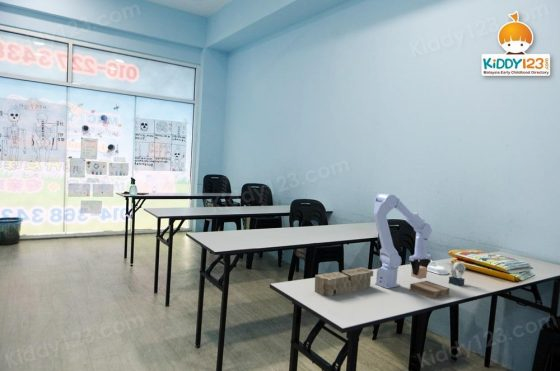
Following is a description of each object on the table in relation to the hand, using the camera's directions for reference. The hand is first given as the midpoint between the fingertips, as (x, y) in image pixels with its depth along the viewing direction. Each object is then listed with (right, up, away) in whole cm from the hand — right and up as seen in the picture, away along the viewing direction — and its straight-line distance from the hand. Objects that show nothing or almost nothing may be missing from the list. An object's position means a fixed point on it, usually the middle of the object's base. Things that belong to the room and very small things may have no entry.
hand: (418, 273), depth 188 cm
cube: (0, -2, 0) cm, 2 cm away
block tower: (-39, -4, -15) cm, 42 cm away
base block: (0, -6, -13) cm, 14 cm away
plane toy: (+16, -4, +27) cm, 31 cm away
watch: (+20, -6, +3) cm, 21 cm away
